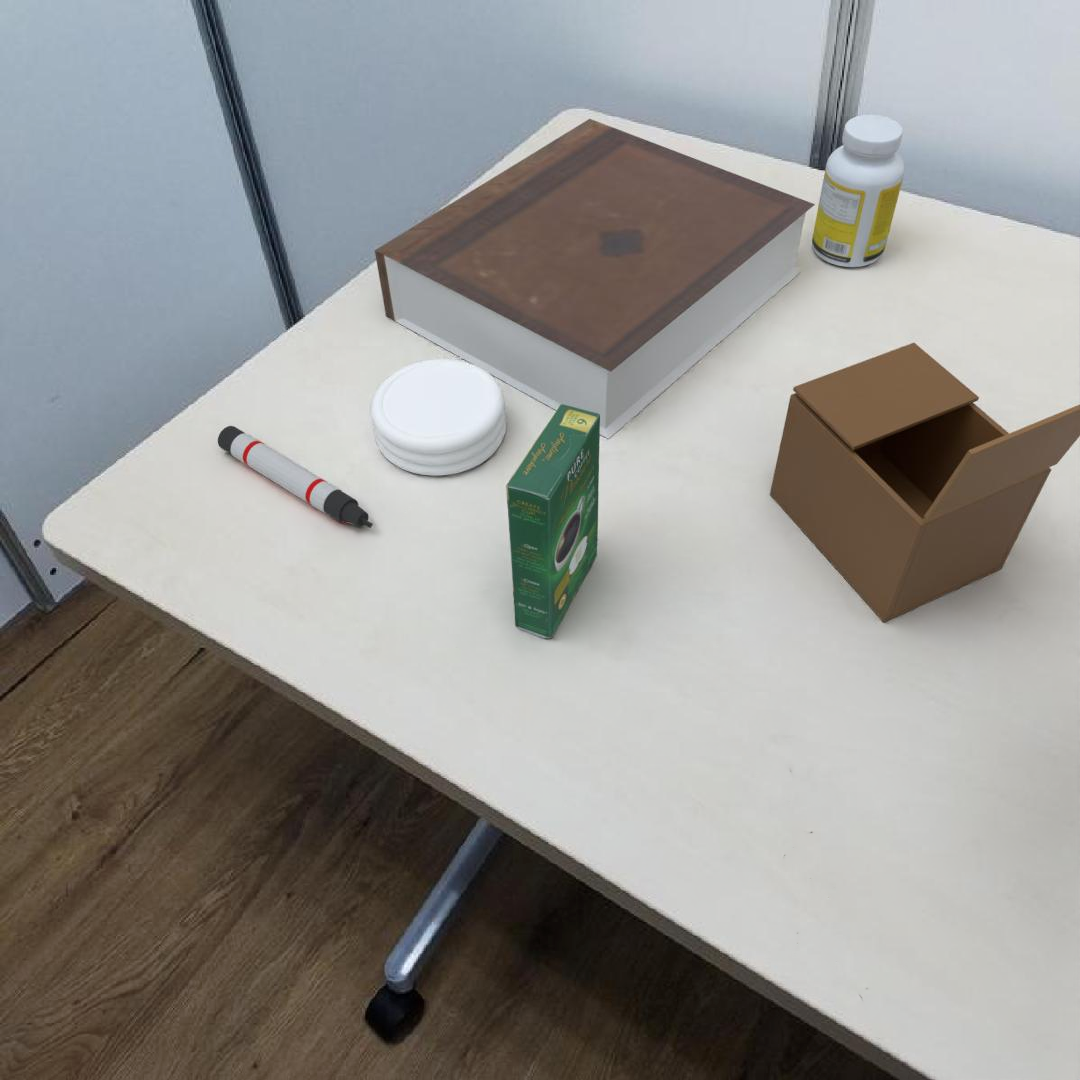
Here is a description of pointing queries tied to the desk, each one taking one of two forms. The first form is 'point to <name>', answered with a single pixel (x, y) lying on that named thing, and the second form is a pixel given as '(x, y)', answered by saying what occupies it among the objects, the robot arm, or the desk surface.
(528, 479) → the coffee box
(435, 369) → the white round container
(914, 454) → the carton
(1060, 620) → the desk surface
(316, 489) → the marker
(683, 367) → the book
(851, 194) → the pill bottle
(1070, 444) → the flap
